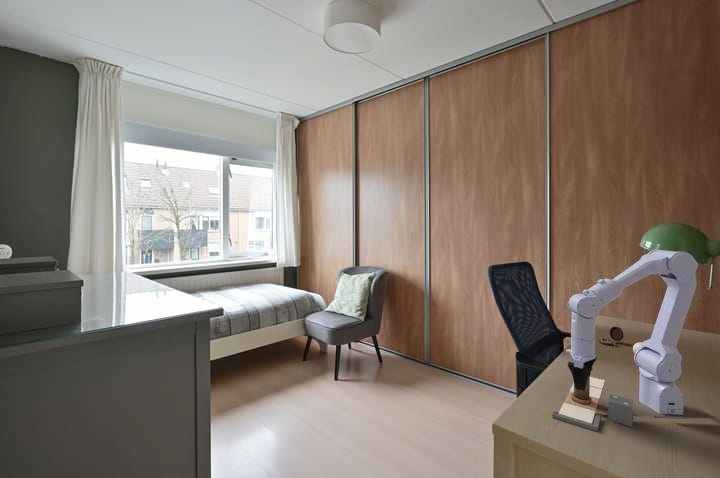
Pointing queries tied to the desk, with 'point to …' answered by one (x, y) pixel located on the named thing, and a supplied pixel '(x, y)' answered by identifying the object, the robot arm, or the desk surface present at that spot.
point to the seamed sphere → (636, 346)
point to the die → (620, 410)
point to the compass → (613, 337)
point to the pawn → (582, 394)
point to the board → (580, 414)
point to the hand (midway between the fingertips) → (582, 384)
